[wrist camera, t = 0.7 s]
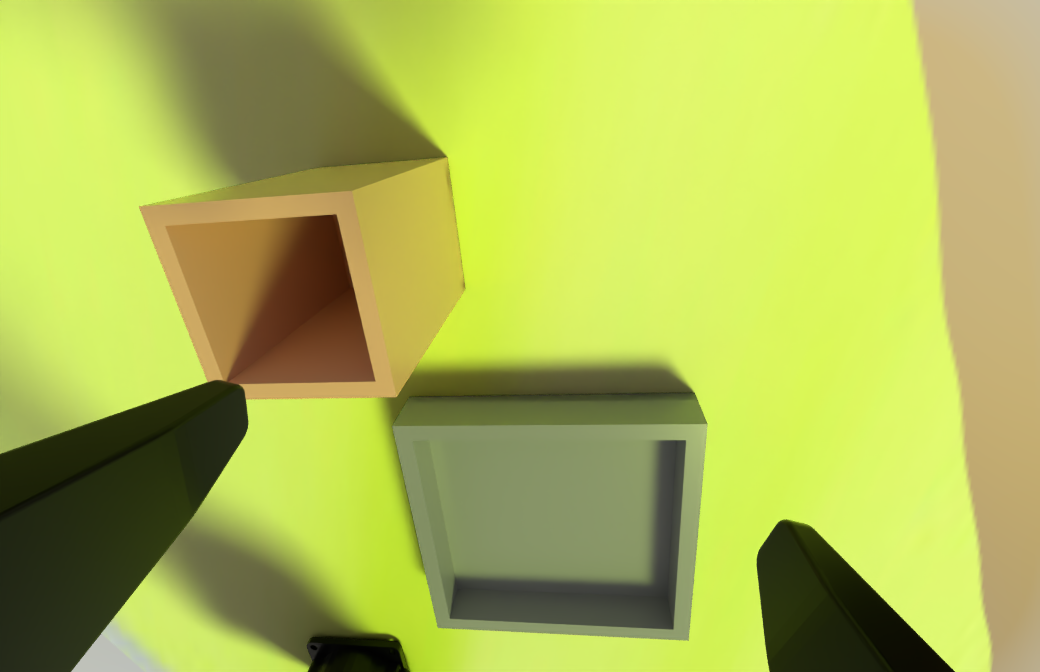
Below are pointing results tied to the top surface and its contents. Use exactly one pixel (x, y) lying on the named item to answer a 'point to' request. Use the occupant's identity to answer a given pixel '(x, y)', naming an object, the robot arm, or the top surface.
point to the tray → (557, 510)
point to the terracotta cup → (315, 276)
